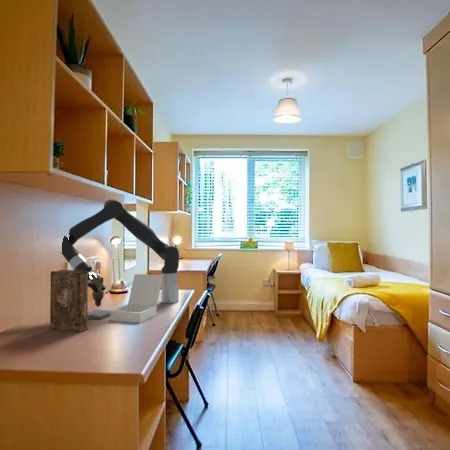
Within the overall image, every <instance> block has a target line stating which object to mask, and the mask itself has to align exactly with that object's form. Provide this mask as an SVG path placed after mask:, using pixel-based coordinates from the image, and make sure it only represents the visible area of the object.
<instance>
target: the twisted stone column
mask: <svg viewBox="0 0 450 450" xmlns="http://www.w3.org/2000/svg"><path fill="white" fill-rule="evenodd" d="M92 280H93V283H94V285H95V286H96V287H97V288H98V289H99V291H98V292H97V293H95V292H94V291H93V292H92V295H91V296H92V299H93V300H94V305H95V306H96V307H100V306H101V305H102V300H103V298H104V291H102V290H101V289H102V288H103V285H104V281H103V280H104V277H102V276H101V277H98V276H97V277H95V278H92Z"/></svg>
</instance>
